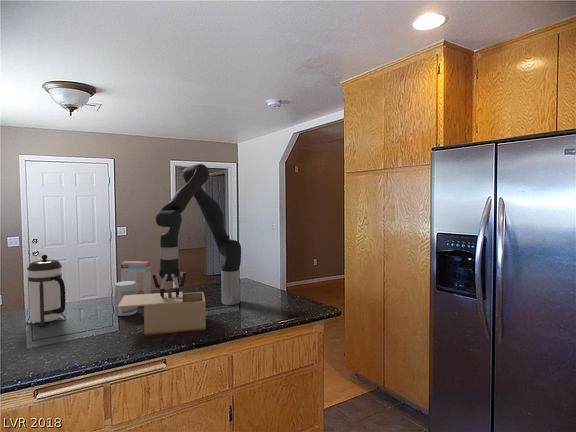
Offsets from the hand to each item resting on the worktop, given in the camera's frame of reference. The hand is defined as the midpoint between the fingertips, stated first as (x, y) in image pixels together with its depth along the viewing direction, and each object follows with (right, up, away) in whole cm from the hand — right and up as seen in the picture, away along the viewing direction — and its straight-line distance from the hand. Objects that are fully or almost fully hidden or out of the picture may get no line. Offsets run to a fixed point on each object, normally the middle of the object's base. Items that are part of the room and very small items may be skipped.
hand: (169, 296), depth 158 cm
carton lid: (-7, -1, -2) cm, 7 cm away
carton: (+2, -13, +1) cm, 13 cm away
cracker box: (-31, -11, +41) cm, 52 cm away
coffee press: (-55, -13, +6) cm, 57 cm away
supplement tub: (-26, -12, +18) cm, 34 cm away
